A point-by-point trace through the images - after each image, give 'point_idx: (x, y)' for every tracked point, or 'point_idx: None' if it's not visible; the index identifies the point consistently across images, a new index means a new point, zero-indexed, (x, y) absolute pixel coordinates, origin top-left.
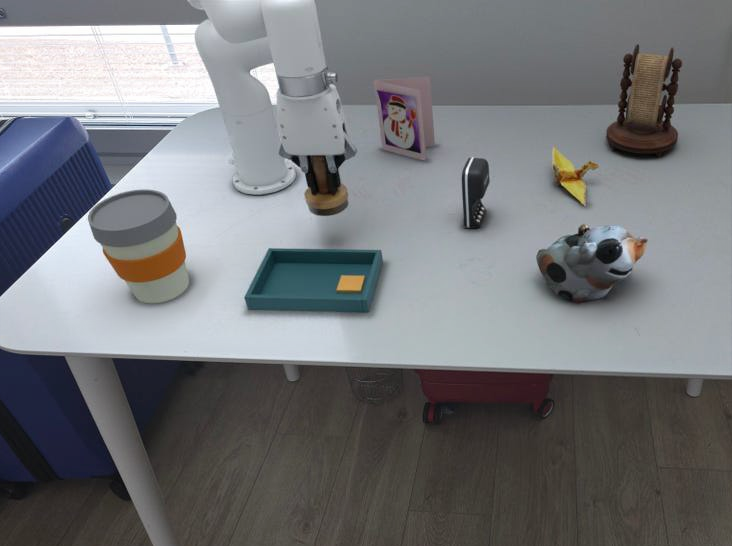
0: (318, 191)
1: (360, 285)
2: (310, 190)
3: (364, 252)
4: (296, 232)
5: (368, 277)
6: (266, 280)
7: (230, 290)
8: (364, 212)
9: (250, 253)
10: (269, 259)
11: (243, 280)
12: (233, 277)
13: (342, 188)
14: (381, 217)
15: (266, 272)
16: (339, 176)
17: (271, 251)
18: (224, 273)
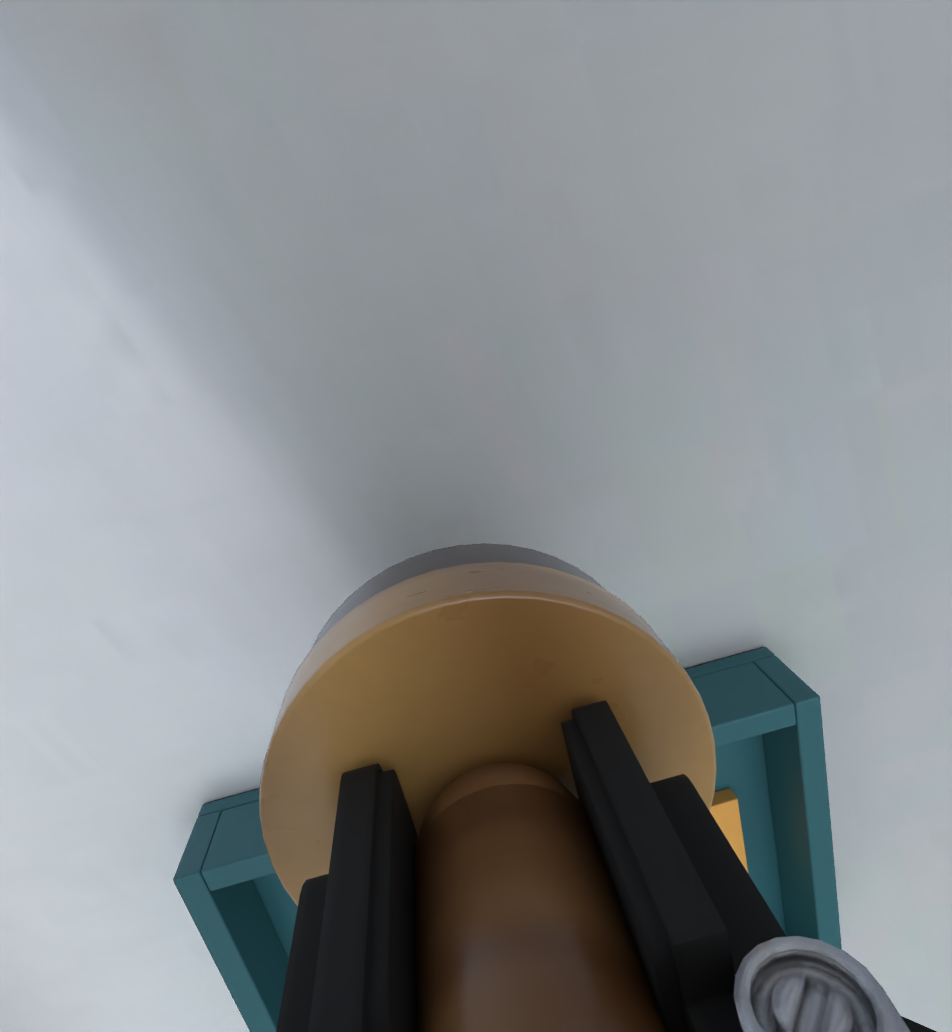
0: (419, 828)
1: (740, 860)
2: (319, 836)
3: (733, 740)
4: (134, 520)
5: (815, 896)
6: (281, 945)
7: (147, 1009)
8: (459, 152)
9: (16, 776)
10: (235, 924)
11: (153, 944)
12: (88, 944)
13: (651, 705)
14: (604, 189)
15: (268, 956)
16: (726, 845)
17: (210, 897)
18: (18, 938)
